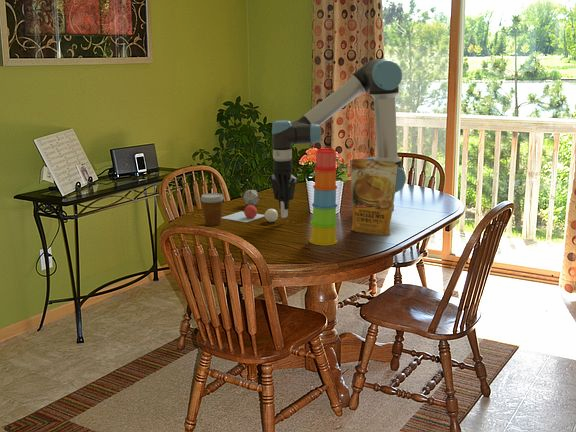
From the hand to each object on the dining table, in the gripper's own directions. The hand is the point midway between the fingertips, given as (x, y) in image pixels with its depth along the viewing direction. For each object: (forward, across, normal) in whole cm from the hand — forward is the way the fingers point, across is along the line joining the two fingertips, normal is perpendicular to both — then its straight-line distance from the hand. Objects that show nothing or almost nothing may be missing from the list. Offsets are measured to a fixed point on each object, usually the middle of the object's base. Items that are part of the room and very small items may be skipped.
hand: (284, 216), depth 290 cm
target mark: (+3, -21, 0) cm, 21 cm away
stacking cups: (+3, +29, -15) cm, 33 cm away
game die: (+3, -31, +18) cm, 36 cm away
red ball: (0, -17, 0) cm, 17 cm away
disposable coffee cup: (+3, -24, -16) cm, 29 cm away
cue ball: (0, -6, -1) cm, 6 cm away
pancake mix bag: (+3, +37, +7) cm, 37 cm away
